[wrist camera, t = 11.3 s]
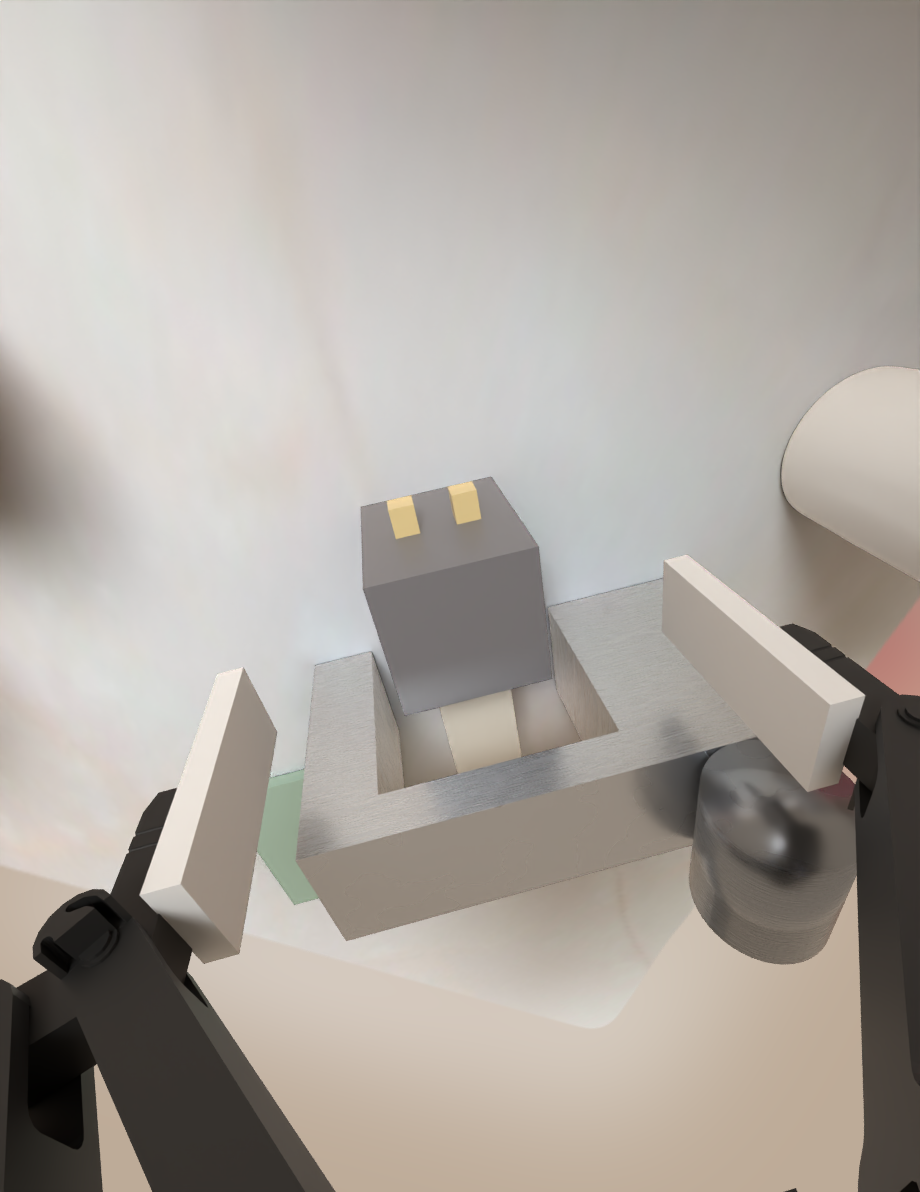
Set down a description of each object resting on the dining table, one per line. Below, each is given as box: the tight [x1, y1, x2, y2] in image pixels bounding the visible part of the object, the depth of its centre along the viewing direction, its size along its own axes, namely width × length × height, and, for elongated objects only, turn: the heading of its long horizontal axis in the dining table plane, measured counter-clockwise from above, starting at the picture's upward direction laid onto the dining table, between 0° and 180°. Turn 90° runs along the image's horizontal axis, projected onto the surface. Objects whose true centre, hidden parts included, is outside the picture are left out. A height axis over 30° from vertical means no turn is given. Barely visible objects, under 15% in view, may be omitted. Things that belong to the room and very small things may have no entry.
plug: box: [361, 477, 552, 774], centre depth 20 cm, size 15×5×6 cm, turn 10°
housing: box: [295, 578, 857, 964], centre depth 19 cm, size 5×16×13 cm, turn 100°
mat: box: [257, 769, 319, 905], centre depth 28 cm, size 10×8×1 cm
